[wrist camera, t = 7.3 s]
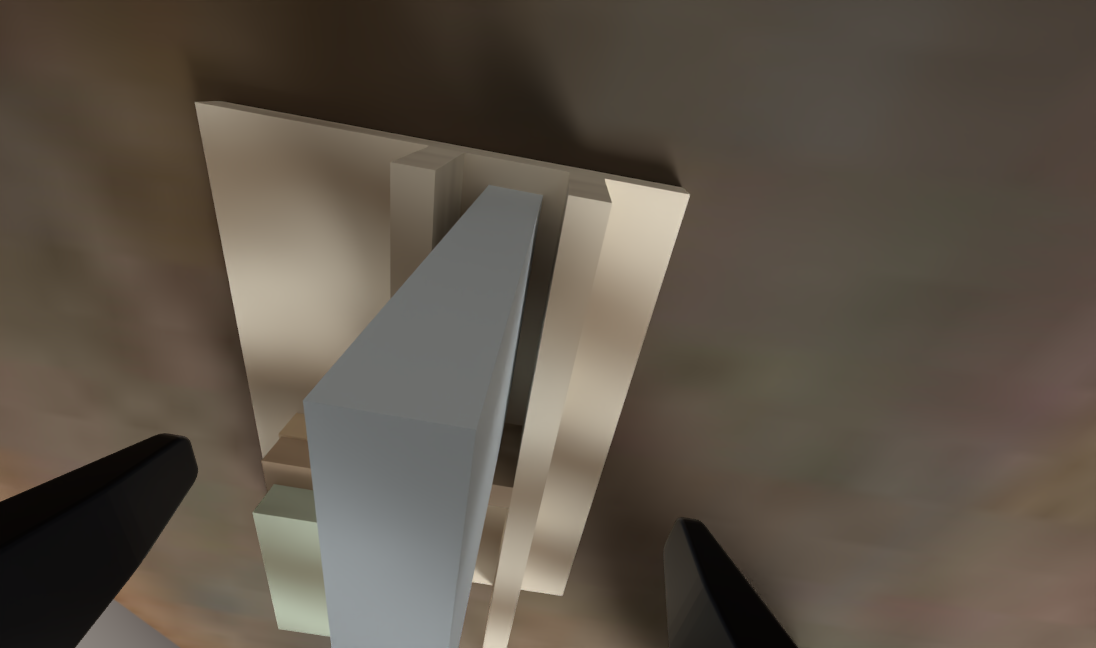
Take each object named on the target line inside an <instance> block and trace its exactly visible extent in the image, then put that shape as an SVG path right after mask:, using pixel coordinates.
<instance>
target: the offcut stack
mask: <svg viewBox="0 0 1096 648" xmlns="http://www.w3.org/2000/svg"><path fill="white" fill-rule="evenodd" d="M278 435H279V440H278V441H277V442H276V444H275V445H274V446H273V447H272V448H271V450H270V451H269V452H268V453H267V454H266V456H265V457H264V458H263V459H262V460H261V462H262V467H263V472H264V477H265V483H266V488H267V494H266V495H265V497H264V498H263V499H262V501H261V502H260V503H259V505H258V506H257V507H256V509H255V510H254V511H253V517H254V521H255V526H256V530H257V535H258V539H259V544H260V548H261V553H262V557H263V562H264V566H265V570H266V575H267V579H268V584H269V588H270V593H271V597H272V602H273V606H274V611H275V615H276V620H277V624H278V628H279V629H283V630H289V631H296V632H303V633H310V634H316V635H323V636H330V630H329V621H328V613H327V604H326V596H325V587H324V578H323V570H322V561H321V552H320V544H319V535H318V527H317V518H316V509H315V501H314V492H313V484H312V475H311V466H310V458H309V449H308V440H307V432H306V423H305V415H304V414H301V413H296V414H295V415H294V416H293V417H292V419H291V420H290V421H289V422H288V423H287V424H286V426H285V427H284V428H283V429H282V430H281V431H280V433H279V434H278Z"/></svg>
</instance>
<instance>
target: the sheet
mask: <svg viewBox="0 0 1096 648" xmlns="http://www.w3.org/2000/svg"><path fill="white" fill-rule="evenodd" d="M542 200H543V195H540V194H535V193H529V192H524V191H519V190H513V189H508V188H503V187H498V186H492V185H488V186H487V188H486V189H485V190H484V191H483V192H482V193H481V195H480V196H479V197H478V198H477V199H476V200H475V201H474V203H473V204H472V205H471V206H470V207H469V208H468V210H467V211H466V212H465V213H464V214H463V215H462V217H461V218H460V219H459V220H458V221H457V222H456V224H455V225H454V226H453V227H452V228H451V229H450V230H449V232H448V233H447V234H446V235H445V236H444V237H443V239H442V240H441V241H440V242H439V243H438V244H437V246H436V247H435V248H434V249H433V250H432V251H431V252H430V254H429V255H428V256H427V257H426V258H425V259H424V261H423V262H422V263H421V264H420V265H419V266H418V268H417V269H416V270H415V271H414V272H413V273H412V275H411V276H410V277H409V278H408V279H407V280H406V281H405V283H404V284H403V285H402V286H401V287H400V288H399V290H398V291H397V292H396V293H395V294H394V295H393V297H392V298H391V299H390V300H389V301H388V302H387V303H386V305H385V306H384V307H383V308H382V309H381V310H380V312H379V313H378V314H377V315H376V316H375V317H374V319H373V320H372V321H371V322H370V323H369V324H368V326H367V327H366V328H365V329H364V330H363V331H362V332H361V334H360V335H359V336H358V337H357V338H356V339H355V341H354V342H353V343H352V344H351V345H350V346H349V348H348V349H347V350H346V351H345V352H344V353H343V354H342V356H341V357H340V358H339V359H338V360H337V361H336V363H335V364H334V365H333V366H332V367H331V368H330V370H329V371H328V372H327V373H326V374H325V375H324V376H323V378H322V379H321V380H320V381H319V382H318V383H317V385H316V386H315V387H314V388H313V389H312V390H311V392H310V393H309V394H308V395H307V396H306V397H305V399H304V400H303V406H304V415H305V423H306V432H307V440H308V449H309V458H310V466H311V475H312V484H313V492H314V501H315V509H316V518H317V527H318V535H319V544H320V552H321V561H322V570H323V578H324V587H325V596H326V604H327V613H328V621H329V630H330V639H331V647H332V648H458V647H459V642H460V638H461V633H462V628H463V623H464V618H465V613H466V608H467V604H468V599H469V594H470V589H471V584H472V579H473V575H474V570H475V565H476V560H477V555H478V550H479V546H480V541H481V536H482V531H483V526H484V521H485V517H486V512H487V507H488V502H489V497H490V492H491V487H492V483H493V478H494V473H495V468H496V463H497V458H498V454H499V449H500V444H501V439H502V434H503V429H504V425H505V420H506V415H507V410H508V404H509V398H510V392H511V386H512V380H513V374H514V368H515V362H516V356H517V350H518V344H519V338H520V332H521V326H522V320H523V314H524V308H525V302H526V296H527V290H528V284H529V278H530V272H531V266H532V260H533V254H534V248H535V242H536V236H537V230H538V224H539V218H540V212H541V206H542Z"/></svg>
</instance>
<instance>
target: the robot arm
mask: <svg viewBox="0 0 1096 648" xmlns="http://www.w3.org/2000/svg"><path fill="white" fill-rule="evenodd" d="M197 473H198V466H197V463H196V459H195V456H194V452H193V449H192V445H191V442H190V440H189V439H188V438H187V437H185V436H180V435H174V434H167V433H163V434H158V435H155V436H153V437H150V438H148V439H146V440H143V441H141V442H139V443H136V444H134V445H132V446H129V447H127V448H125V449H122V450H120V451H118V452H115V453H113V454H111V455H108V456H106V457H104V458H101V459H99V460H97V461H94V462H92V463H90V464H87V465H85V466H83V467H80V468H78V469H76V470H73V471H71V472H69V473H66V474H64V475H62V476H59V477H57V478H55V479H52V480H50V481H48V482H45V483H43V484H41V485H38V486H36V487H34V488H31V489H29V490H27V491H24V492H22V493H20V494H17V495H15V496H13V497H10V498H8V499H6V500H3V501H1V502H0V648H75V647H76V646H77V645H78V643H79V642H80V640H82V638H83V637H84V636H85V635H86V633H87V632H88V631H89V629H90V628H91V626H92V625H93V624H94V623H95V622H96V620H97V619H98V618H99V617H100V615H101V614H102V613H103V612H104V610H105V609H106V608H107V607H108V605H109V604H110V603H111V601H112V600H113V599H114V598H115V596H116V595H117V594H118V593H119V591H120V590H121V589H122V587H123V586H124V585H125V584H126V582H127V581H128V580H129V579H130V577H131V576H132V575H133V573H134V572H135V571H136V569H137V568H138V567H139V565H140V564H141V562H142V561H143V559H144V558H145V557H146V555H147V554H148V552H149V551H150V549H151V548H152V546H153V545H154V543H155V542H156V540H157V539H158V537H159V536H160V534H161V532H162V531H163V529H164V528H165V526H166V525H167V523H168V522H169V520H170V519H171V517H172V516H173V514H174V513H175V511H176V510H177V508H178V506H179V505H180V503H181V502H182V500H183V499H184V497H185V496H186V494H187V493H188V491H189V490H190V488H191V487H192V485H193V483H194V482H195V480H196V477H197ZM663 558H664V575H665V591H666V607H667V623H668V637H669V648H798V647H797V646H796V644H795V643H794V642H793V641H792V639H791V638H790V637H789V635H788V634H787V633H786V631H785V630H784V629H783V627H782V626H781V625H780V623H779V622H778V621H777V620H776V618H775V617H774V616H773V614H772V613H771V612H770V610H769V609H768V608H767V606H766V605H765V604H764V602H763V601H762V600H761V599H760V597H759V596H758V595H757V593H756V592H755V591H754V589H753V588H752V587H751V585H750V584H749V583H748V581H747V580H746V579H745V578H744V576H743V575H742V574H741V572H740V571H739V570H738V568H737V567H736V566H735V564H734V563H733V562H732V561H731V559H730V558H729V557H728V555H727V554H726V553H725V551H724V550H723V549H722V547H721V546H720V545H719V543H718V542H717V541H716V540H715V538H714V537H713V536H712V534H711V533H710V532H709V530H708V529H707V528H706V526H705V525H704V524H703V523H702V522H701V521H699V520H696V519H690V518H684V517H680V518H678V519H677V520H676V522H675V524H674V526H673V528H672V530H671V532H670V534H669V536H668V539H667V541H666V543H665V546H664V554H663Z"/></svg>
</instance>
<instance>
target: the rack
mask: <svg viewBox="0 0 1096 648" xmlns="http://www.w3.org/2000/svg"><path fill="white" fill-rule="evenodd" d="M195 106H196V112H197V117H198V122H199V127H200V133H201V138H202V143H203V148H204V153H205V159H206V164H207V169H208V174H209V180H210V185H211V190H212V195H213V201H214V206H215V211H216V216H217V222H218V227H219V232H220V237H221V242H222V248H223V253H224V258H225V263H226V269H227V274H228V279H229V284H230V290H231V295H232V300H233V305H234V311H235V316H236V321H237V326H238V331H239V337H240V342H241V347H242V352H243V358H244V363H245V368H246V373H247V379H248V384H249V389H250V394H251V400H252V405H253V410H254V415H255V420H256V426H257V431H258V436H259V441H260V447H261V452H262V457H263V458H264V457H265V456H266V454H267V453H268V452H269V451H270V450H271V448H272V447H273V446H274V445H275V444H276V442H277V441H278V440H279V435H278V434H279V433H280V431H281V430H282V429H283V428H284V427H285V426H286V424H287V423H288V422H289V421H290V420H291V419H292V417H293V416H294V415H295V414H296V413H301V414H304V406H303V400H304V399H305V397H306V396H307V395H308V394H309V393H310V392H311V390H312V389H313V388H314V387H315V386H316V385H317V383H318V382H319V381H320V380H321V379H322V378H323V376H324V375H325V374H326V373H327V372H328V371H329V370H330V368H331V367H332V366H333V365H334V364H335V363H336V361H337V360H338V359H339V358H340V357H341V356H342V354H343V353H344V352H345V351H346V350H347V349H348V348H349V346H350V345H351V344H352V343H353V342H354V341H355V339H356V338H357V337H358V336H359V335H360V334H361V332H362V331H363V330H364V329H365V328H366V327H367V326H368V324H369V323H370V322H371V321H372V320H373V319H374V317H375V316H376V315H377V314H378V313H379V312H380V310H381V309H382V308H383V307H384V306H385V305H386V303H387V302H388V301H389V300H390V299H391V298H392V297H393V295H394V294H395V293H396V292H397V291H398V290H399V288H400V287H401V286H402V285H403V284H404V283H405V281H406V280H407V279H408V278H409V277H410V276H411V275H412V273H413V272H414V271H415V270H416V269H417V268H418V266H419V265H420V264H421V263H422V262H423V261H424V259H425V258H426V257H427V256H428V255H429V254H430V252H431V251H432V250H433V249H434V248H435V247H436V246H437V244H438V243H439V242H440V241H441V240H442V239H443V237H444V236H445V235H446V234H447V233H448V232H449V230H450V229H451V228H452V227H453V226H454V225H455V224H456V222H457V221H458V220H459V219H460V218H461V217H462V215H463V214H464V213H465V212H466V211H467V210H468V208H469V207H470V206H471V205H472V204H473V203H474V201H475V200H476V199H477V198H478V197H479V196H480V195H481V193H482V192H483V191H484V190H485V189H486V188H487V186H488V185H492V186H498V187H503V188H508V189H513V190H519V191H524V192H529V193H535V194H540V195H543V200H542V206H541V212H540V218H539V224H538V230H537V236H536V242H535V248H534V254H533V260H532V266H531V272H530V278H529V284H528V290H527V296H526V302H525V308H524V314H523V320H522V326H521V332H520V338H519V344H518V350H517V356H516V362H515V368H514V374H513V380H512V386H511V392H510V398H509V404H508V410H507V415H506V420H505V425H504V429H503V434H502V439H501V444H500V449H499V454H498V458H497V463H496V468H495V473H494V478H493V483H492V487H491V492H490V497H489V502H488V507H487V512H486V517H485V521H484V526H483V531H482V536H481V541H480V546H479V550H478V555H477V560H476V565H475V570H474V575H473V579H472V582H475V583H482V584H488V585H493V589H492V595H491V601H490V607H489V613H488V619H487V625H486V631H485V638H484V644H483V648H507V644H508V640H509V636H510V631H511V627H512V623H513V619H514V615H515V610H516V606H517V602H518V598H519V594H520V590H527V591H533V592H540V593H546V594H553V595H559V596H562V595H563V592H564V589H565V586H566V583H567V580H568V576H569V573H570V570H571V567H572V564H573V561H574V558H575V554H576V551H577V548H578V545H579V542H580V539H581V536H582V532H583V529H584V526H585V523H586V520H587V517H588V514H589V510H590V507H591V504H592V501H593V498H594V495H595V492H596V489H597V485H598V482H599V479H600V476H601V473H602V470H603V467H604V463H605V460H606V457H607V454H608V451H609V448H610V445H611V441H612V438H613V435H614V432H615V429H616V426H617V423H618V419H619V416H620V413H621V410H622V407H623V404H624V401H625V397H626V394H627V391H628V388H629V385H630V382H631V379H632V375H633V372H634V369H635V366H636V363H637V360H638V357H639V353H640V350H641V347H642V344H643V341H644V338H645V335H646V332H647V328H648V325H649V322H650V319H651V316H652V313H653V310H654V306H655V303H656V300H657V297H658V294H659V291H660V288H661V284H662V281H663V278H664V275H665V272H666V269H667V266H668V262H669V259H670V256H671V253H672V250H673V247H674V244H675V240H676V237H677V234H678V231H679V228H680V225H681V222H682V218H683V215H684V212H685V209H686V206H687V203H688V200H689V196H690V194H689V193H688V192H687V191H686V190H685V189H684V188H683V187H677V186H672V185H667V184H661V183H656V182H650V181H645V180H640V179H634V178H629V177H624V176H618V175H613V174H608V173H602V172H597V171H592V170H586V169H581V168H576V167H570V166H565V165H560V164H554V163H549V162H544V161H538V160H533V159H528V158H522V157H517V156H512V155H506V154H501V153H496V152H490V151H485V150H480V149H474V148H469V147H464V146H458V145H453V144H448V143H442V142H437V141H432V140H426V139H421V138H416V137H410V136H405V135H400V134H394V133H389V132H384V131H378V130H373V129H368V128H362V127H357V126H352V125H346V124H341V123H336V122H330V121H325V120H320V119H314V118H309V117H304V116H298V115H293V114H288V113H282V112H277V111H272V110H266V109H261V108H255V107H250V106H245V105H239V104H234V103H229V102H223V101H206V102H195Z"/></svg>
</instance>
